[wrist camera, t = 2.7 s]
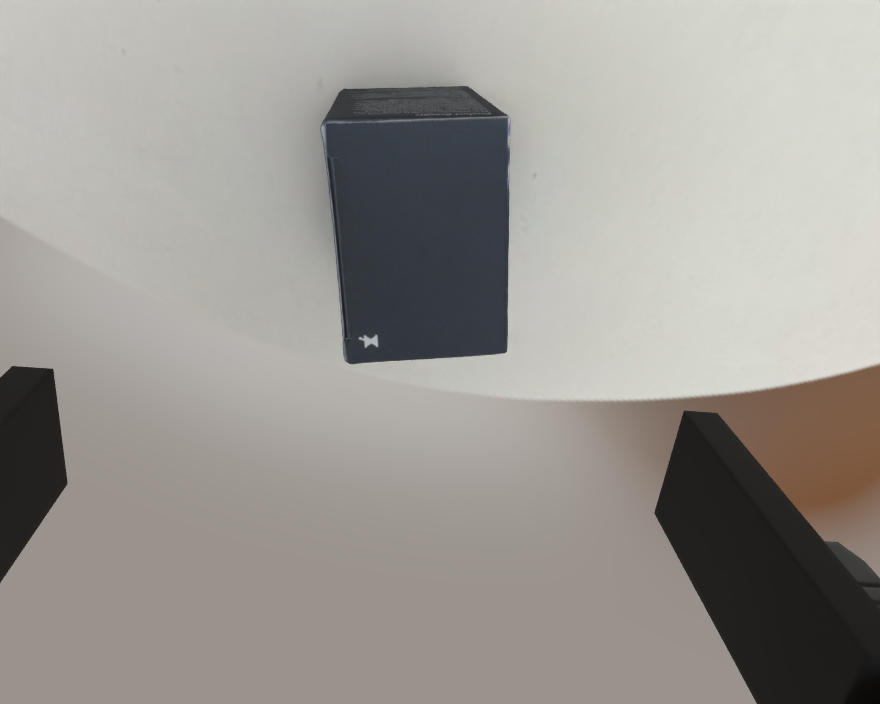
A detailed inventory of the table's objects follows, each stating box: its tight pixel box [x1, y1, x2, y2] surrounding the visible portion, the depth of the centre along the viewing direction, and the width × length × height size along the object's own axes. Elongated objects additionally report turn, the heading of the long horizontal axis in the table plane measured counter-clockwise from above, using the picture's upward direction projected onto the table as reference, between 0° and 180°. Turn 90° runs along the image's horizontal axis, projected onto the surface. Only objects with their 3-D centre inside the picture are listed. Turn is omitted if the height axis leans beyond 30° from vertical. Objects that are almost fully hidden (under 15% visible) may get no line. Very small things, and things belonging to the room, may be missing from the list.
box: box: [320, 86, 510, 364], centre depth 27 cm, size 8×6×11 cm
